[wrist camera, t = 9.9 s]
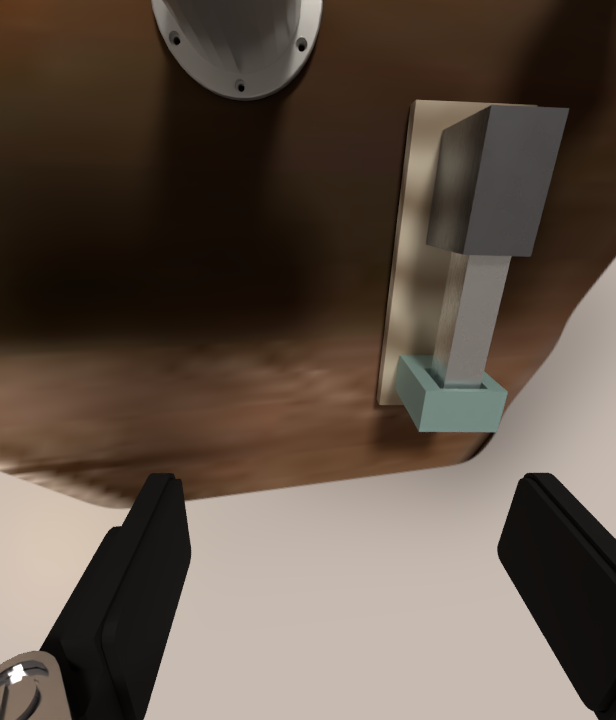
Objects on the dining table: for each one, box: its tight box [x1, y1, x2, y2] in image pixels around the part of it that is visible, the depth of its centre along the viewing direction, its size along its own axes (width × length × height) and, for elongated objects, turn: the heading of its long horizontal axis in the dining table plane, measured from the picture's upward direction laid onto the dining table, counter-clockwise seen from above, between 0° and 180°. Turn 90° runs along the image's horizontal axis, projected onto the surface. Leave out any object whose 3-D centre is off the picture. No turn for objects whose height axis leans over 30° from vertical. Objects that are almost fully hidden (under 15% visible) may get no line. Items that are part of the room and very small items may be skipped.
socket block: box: [395, 355, 508, 432], centre depth 35 cm, size 4×7×8 cm, turn 88°
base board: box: [377, 100, 538, 405], centre depth 35 cm, size 28×10×2 cm, turn 178°
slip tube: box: [430, 252, 511, 389], centre depth 30 cm, size 16×3×3 cm, turn 178°
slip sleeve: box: [426, 105, 569, 257], centre depth 28 cm, size 9×5×8 cm, turn 178°
